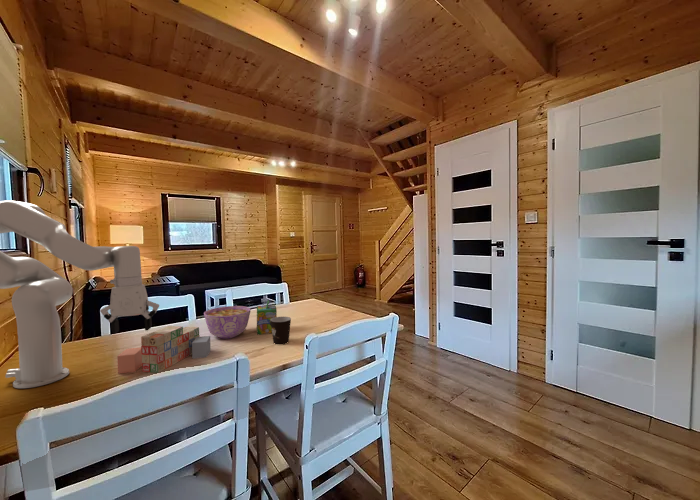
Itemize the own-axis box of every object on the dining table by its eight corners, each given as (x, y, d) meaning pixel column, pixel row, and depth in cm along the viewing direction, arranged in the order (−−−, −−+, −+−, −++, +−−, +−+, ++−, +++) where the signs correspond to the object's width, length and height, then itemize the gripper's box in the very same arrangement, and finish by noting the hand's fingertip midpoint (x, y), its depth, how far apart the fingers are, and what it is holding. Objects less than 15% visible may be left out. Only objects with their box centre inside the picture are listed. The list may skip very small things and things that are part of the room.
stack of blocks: (186, 348, 123) (185, 319, 122) (200, 349, 122) (199, 319, 121) (141, 372, 102) (140, 336, 101) (157, 373, 101) (156, 337, 100)
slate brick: (192, 358, 113) (191, 342, 112) (196, 351, 120) (196, 337, 119) (206, 357, 114) (206, 341, 114) (210, 350, 121) (210, 335, 120)
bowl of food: (231, 345, 126) (230, 318, 126) (193, 340, 133) (193, 314, 132) (260, 331, 145) (259, 307, 145) (226, 327, 152) (225, 304, 151)
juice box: (256, 329, 148) (256, 299, 147) (275, 327, 151) (275, 298, 150) (256, 335, 139) (256, 303, 139) (277, 333, 142) (276, 302, 141)
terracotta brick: (118, 373, 101) (117, 356, 100) (127, 365, 107) (127, 348, 107) (135, 371, 102) (134, 354, 102) (143, 363, 109) (143, 347, 108)
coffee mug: (293, 344, 127) (292, 320, 127) (272, 346, 124) (271, 322, 124) (288, 335, 138) (287, 314, 138) (268, 338, 135) (268, 316, 134)
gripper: (92, 285, 98) (96, 337, 99) (153, 281, 102) (156, 331, 103) (105, 282, 105) (108, 330, 106) (160, 278, 109) (163, 325, 110)
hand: (132, 330), depth 104 cm, fingers open, 9 cm apart
